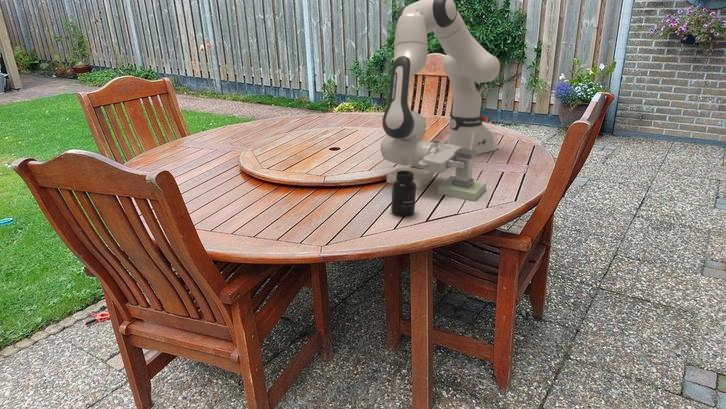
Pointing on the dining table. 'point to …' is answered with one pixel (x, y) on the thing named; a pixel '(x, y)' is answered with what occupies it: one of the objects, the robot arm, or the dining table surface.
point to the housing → (464, 173)
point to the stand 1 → (419, 175)
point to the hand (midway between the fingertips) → (467, 162)
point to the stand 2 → (462, 189)
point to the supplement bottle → (403, 194)
